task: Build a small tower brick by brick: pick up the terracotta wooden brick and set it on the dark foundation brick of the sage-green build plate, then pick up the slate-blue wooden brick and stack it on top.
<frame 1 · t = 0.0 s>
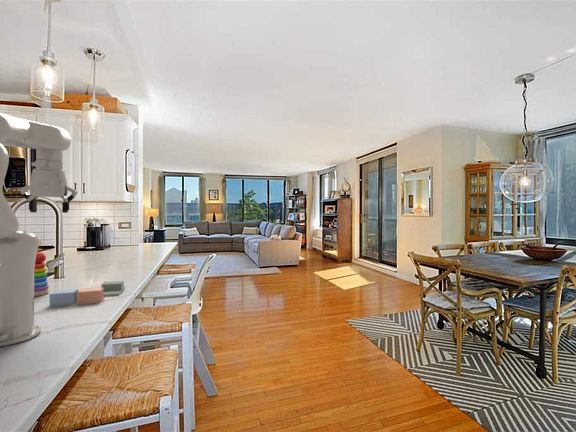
hand: (49, 212, 106), 37 cm above the countertop, tool pointing down, fingers open, 9 cm apart
stacking toy: (37, 294, 126), on the countertop
build plate: (101, 292, 130), on the countertop
terracotta brick: (90, 301, 118), on the countertop
slate brick: (64, 303, 115), on the countertop
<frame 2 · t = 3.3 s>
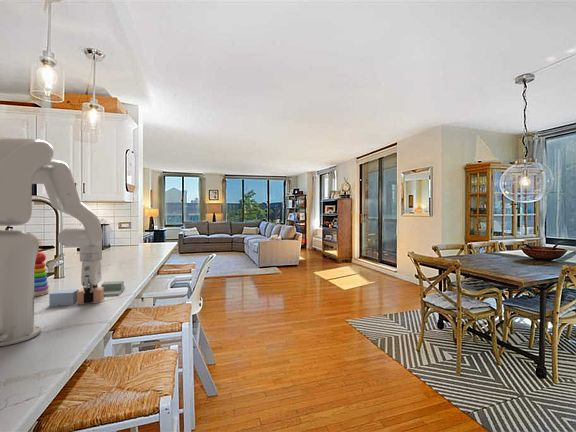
hand: (90, 300, 118), 1 cm above the countertop, tool pointing down, fingers closed on terracotta brick, 5 cm apart
terracotta brick: (90, 301, 118), on the countertop, touching gripper
everything else where it was.
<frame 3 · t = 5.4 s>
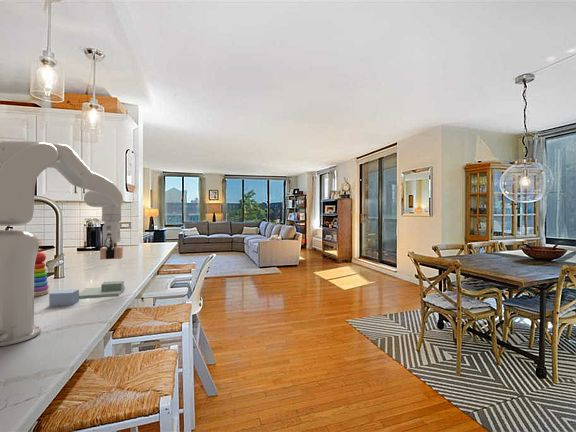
hand: (111, 257, 131), 16 cm above the countertop, tool pointing down, fingers closed on terracotta brick, 5 cm apart
terracotta brick: (111, 258, 131), point 16 cm above the countertop, touching gripper
everything else where it was.
when the fingers open (6 cm above the countertop, at t = 7.7 s): terracotta brick stays where it is, resting on build plate.
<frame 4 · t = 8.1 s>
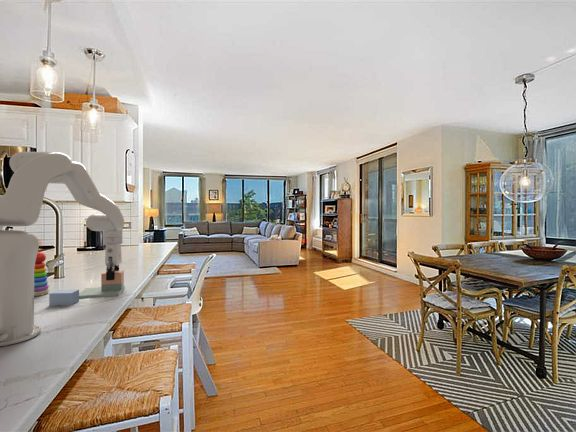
hand: (112, 277, 132), 6 cm above the countertop, tool pointing down, fingers open, 8 cm apart
terracotta brick: (112, 282, 132), point 4 cm above the countertop, touching build plate
everything else where it was.
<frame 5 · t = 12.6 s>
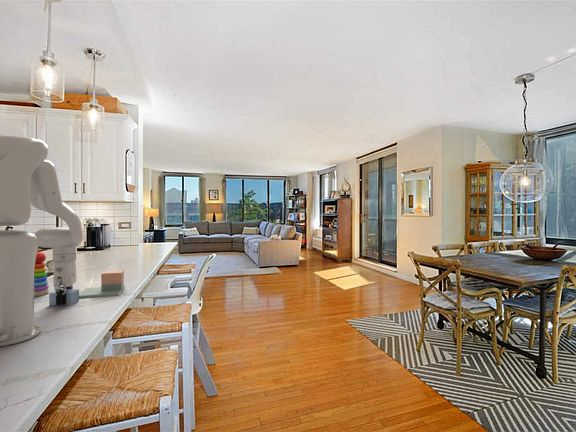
hand: (64, 301, 115), 1 cm above the countertop, tool pointing down, fingers closed on slate brick, 5 cm apart
slate brick: (64, 303, 115), on the countertop, touching gripper
everything else where it was.
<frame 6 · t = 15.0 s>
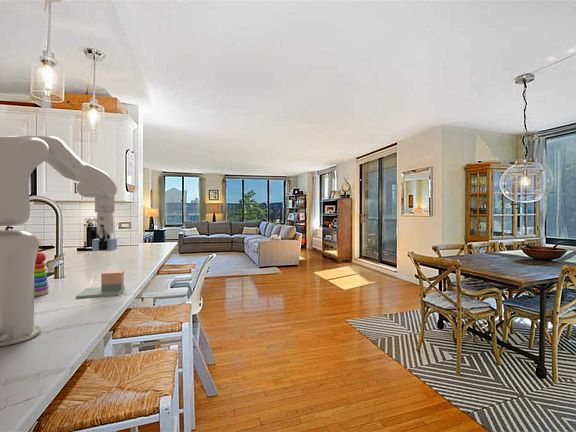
hand: (104, 248, 129), 20 cm above the countertop, tool pointing down, fingers closed on slate brick, 5 cm apart
slate brick: (104, 250, 129), point 20 cm above the countertop, touching gripper
everything else where it was.
when the fingers open (11 cm above the countertop, at t = 17.4 s): slate brick drops 1 cm, resting on terracotta brick.
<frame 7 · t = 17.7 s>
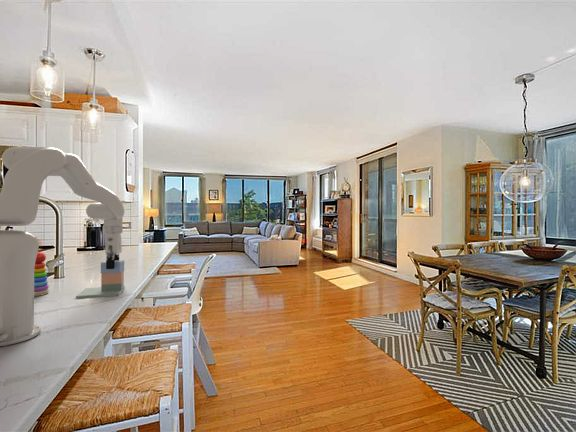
hand: (112, 266, 132), 11 cm above the countertop, tool pointing down, fingers open, 9 cm apart
terracotta brick: (112, 282, 132), point 4 cm above the countertop, touching build plate, slate brick
slate brick: (112, 272, 132), point 9 cm above the countertop, touching terracotta brick
everything else where it was.
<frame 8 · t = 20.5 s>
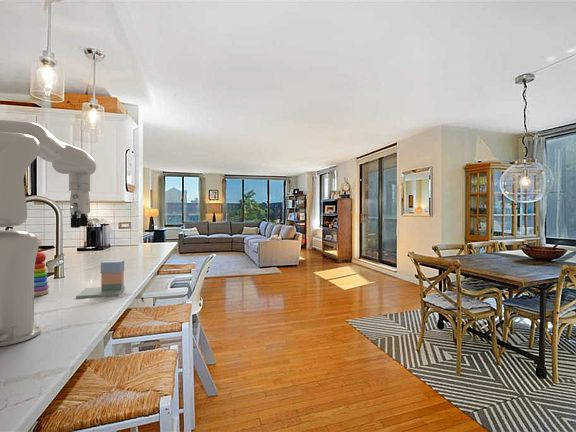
hand: (79, 226, 124), 30 cm above the countertop, tool pointing down, fingers open, 9 cm apart
nothing on the countertop moved.
at the end: terracotta brick 0.0 cm from the target spot, point 4.0 cm above the countertop; slate brick 0.1 cm from the target spot, point 9.0 cm above the countertop; slate brick tilted 0° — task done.
